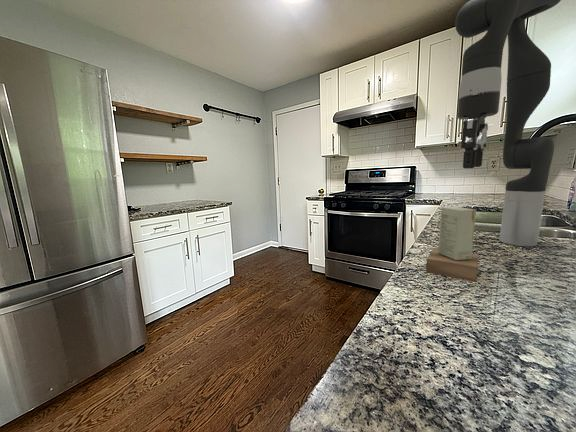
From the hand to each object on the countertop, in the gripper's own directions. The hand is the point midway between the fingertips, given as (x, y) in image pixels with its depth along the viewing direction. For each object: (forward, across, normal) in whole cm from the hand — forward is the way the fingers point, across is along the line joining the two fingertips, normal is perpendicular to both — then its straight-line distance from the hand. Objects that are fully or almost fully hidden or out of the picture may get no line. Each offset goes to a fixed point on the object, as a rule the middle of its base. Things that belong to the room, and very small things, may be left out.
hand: (472, 167), depth 59 cm
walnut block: (+26, +4, -2) cm, 26 cm away
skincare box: (+22, +3, -2) cm, 22 cm away
